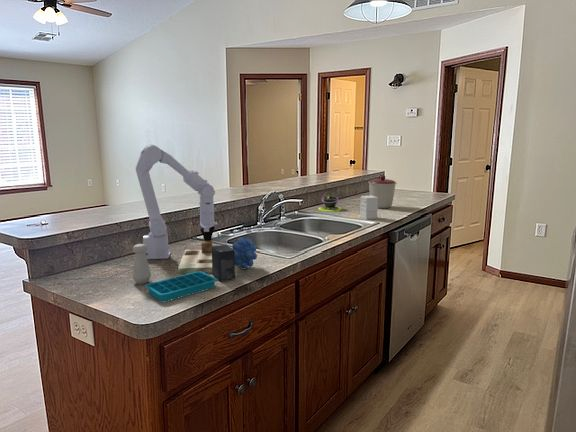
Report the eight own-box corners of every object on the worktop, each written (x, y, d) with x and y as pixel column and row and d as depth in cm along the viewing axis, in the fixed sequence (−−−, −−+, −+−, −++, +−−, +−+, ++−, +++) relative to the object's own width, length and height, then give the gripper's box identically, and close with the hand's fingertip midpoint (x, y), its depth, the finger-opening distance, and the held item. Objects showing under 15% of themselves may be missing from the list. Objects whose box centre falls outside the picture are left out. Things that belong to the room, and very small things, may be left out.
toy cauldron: (314, 210, 268) (314, 192, 265) (324, 206, 280) (324, 189, 278) (336, 212, 261) (336, 194, 258) (345, 208, 273) (345, 191, 271)
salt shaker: (133, 286, 138) (130, 248, 135) (132, 280, 143) (129, 243, 140) (152, 283, 140) (149, 246, 138) (150, 278, 145) (147, 241, 143)
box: (235, 279, 145) (234, 249, 143) (219, 281, 142) (218, 251, 140) (227, 272, 152) (226, 243, 150) (212, 274, 149) (211, 246, 147)
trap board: (178, 273, 150) (177, 268, 149) (185, 254, 172) (184, 250, 172) (212, 272, 151) (212, 267, 151) (215, 253, 174) (214, 249, 173)
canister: (363, 204, 285) (365, 173, 281) (389, 204, 287) (391, 173, 283) (371, 210, 267) (373, 176, 263) (399, 209, 269) (401, 176, 265)
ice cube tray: (144, 293, 133) (143, 284, 132) (200, 278, 146) (200, 270, 145) (161, 305, 124) (160, 295, 124) (219, 288, 138) (219, 279, 137)
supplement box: (370, 216, 248) (371, 195, 246) (377, 219, 241) (378, 197, 239) (359, 217, 246) (360, 195, 243) (365, 219, 239) (366, 197, 236)
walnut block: (201, 253, 168) (201, 243, 167) (202, 250, 171) (202, 240, 171) (212, 252, 168) (211, 243, 167) (212, 250, 172) (212, 240, 171)
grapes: (239, 275, 148) (238, 242, 146) (227, 270, 153) (226, 238, 151) (264, 268, 156) (263, 236, 154) (252, 263, 161) (251, 233, 159)
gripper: (216, 215, 167) (217, 249, 170) (217, 209, 181) (218, 239, 184) (198, 216, 166) (199, 249, 169) (200, 209, 180) (201, 240, 183)
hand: (208, 244), depth 176 cm, fingers closed
